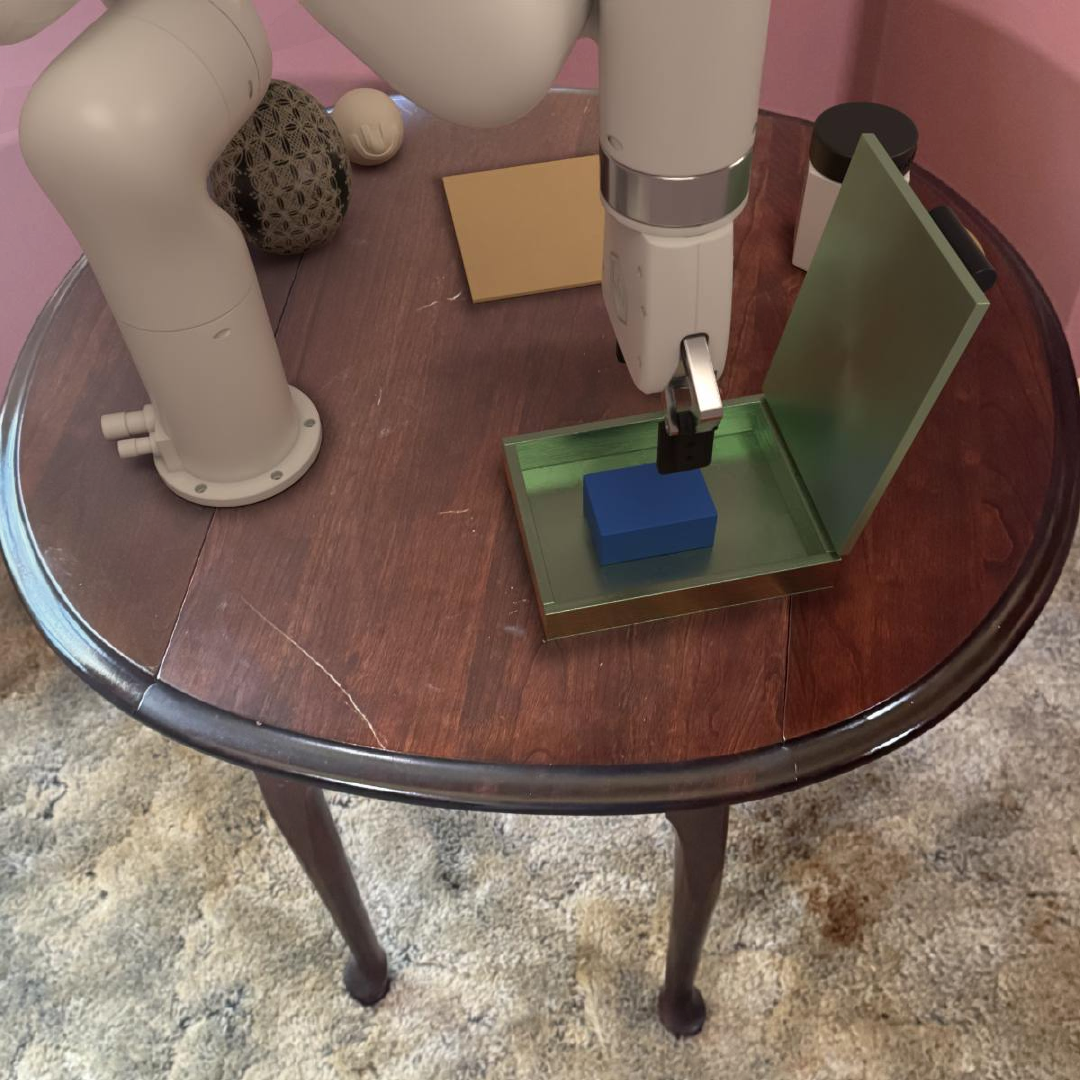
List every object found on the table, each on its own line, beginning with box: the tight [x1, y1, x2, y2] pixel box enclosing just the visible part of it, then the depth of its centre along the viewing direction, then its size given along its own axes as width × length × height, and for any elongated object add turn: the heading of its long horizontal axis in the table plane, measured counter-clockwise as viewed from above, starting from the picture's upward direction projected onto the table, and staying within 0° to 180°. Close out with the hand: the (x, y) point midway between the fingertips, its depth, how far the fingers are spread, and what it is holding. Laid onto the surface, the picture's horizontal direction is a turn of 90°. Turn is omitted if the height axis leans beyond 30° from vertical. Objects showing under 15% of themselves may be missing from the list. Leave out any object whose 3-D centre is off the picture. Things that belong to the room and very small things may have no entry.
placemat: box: [441, 154, 605, 304], centre depth 100 cm, size 22×18×1 cm
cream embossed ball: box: [330, 87, 405, 167], centre depth 105 cm, size 7×7×7 cm
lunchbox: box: [501, 392, 842, 642], centre depth 77 cm, size 20×16×4 cm
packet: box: [583, 462, 718, 566], centre depth 76 cm, size 8×6×3 cm
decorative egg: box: [209, 78, 353, 256], centre depth 94 cm, size 12×12×15 cm
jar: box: [791, 101, 920, 272], centre depth 92 cm, size 9×8×12 cm
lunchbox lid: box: [761, 133, 998, 556], centre depth 69 cm, size 20×16×5 cm
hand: (661, 410), depth 69 cm, fingers open, 9 cm apart
